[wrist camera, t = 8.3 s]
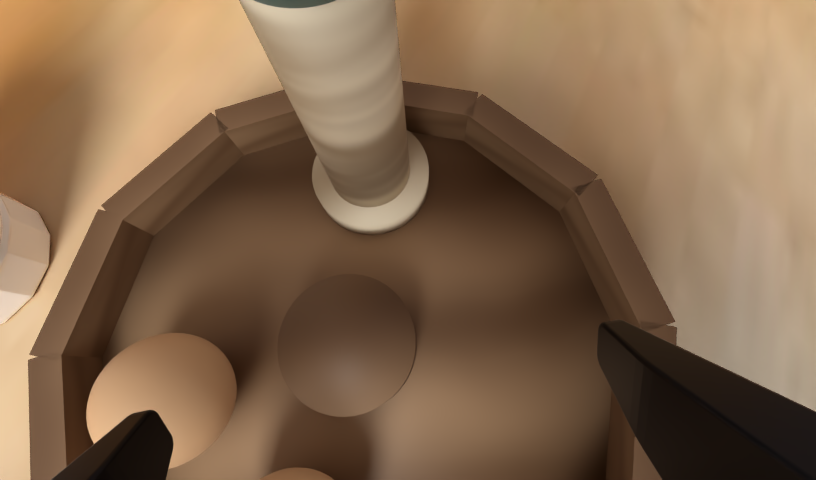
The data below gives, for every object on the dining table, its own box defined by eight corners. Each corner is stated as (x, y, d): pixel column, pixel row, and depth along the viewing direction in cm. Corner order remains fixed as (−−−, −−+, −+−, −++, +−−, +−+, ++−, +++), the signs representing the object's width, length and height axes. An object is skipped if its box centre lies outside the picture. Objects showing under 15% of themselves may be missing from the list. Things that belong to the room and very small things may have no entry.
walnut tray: (744, 557, 15) (820, 600, 12) (121, 789, 14) (39, 900, 11) (507, 67, 22) (519, 21, 19) (80, 195, 20) (23, 165, 18)
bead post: (451, 188, 19) (520, -365, 5) (363, 257, 18) (131, -163, 4) (382, 116, 20) (276, -482, 6) (297, 177, 19) (-52, -348, 5)
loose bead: (266, 435, 16) (207, 458, 12) (152, 474, 16) (50, 510, 11) (245, 323, 17) (185, 307, 13) (139, 357, 17) (45, 352, 13)
